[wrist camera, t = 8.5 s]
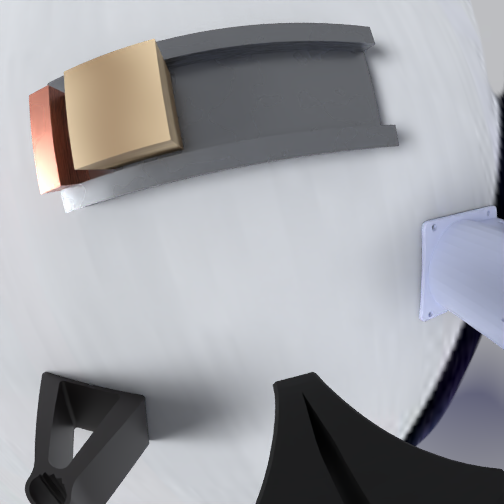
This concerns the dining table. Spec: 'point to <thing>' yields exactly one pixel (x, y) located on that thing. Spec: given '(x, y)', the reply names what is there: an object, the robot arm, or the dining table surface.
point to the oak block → (121, 108)
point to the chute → (232, 108)
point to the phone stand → (93, 451)
